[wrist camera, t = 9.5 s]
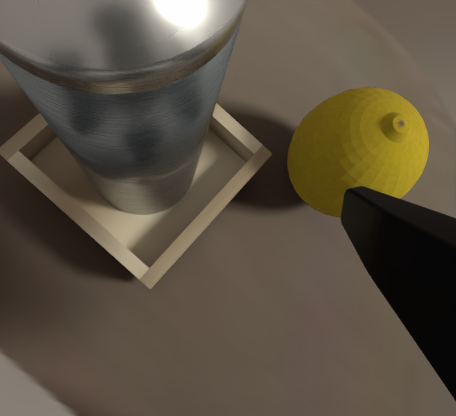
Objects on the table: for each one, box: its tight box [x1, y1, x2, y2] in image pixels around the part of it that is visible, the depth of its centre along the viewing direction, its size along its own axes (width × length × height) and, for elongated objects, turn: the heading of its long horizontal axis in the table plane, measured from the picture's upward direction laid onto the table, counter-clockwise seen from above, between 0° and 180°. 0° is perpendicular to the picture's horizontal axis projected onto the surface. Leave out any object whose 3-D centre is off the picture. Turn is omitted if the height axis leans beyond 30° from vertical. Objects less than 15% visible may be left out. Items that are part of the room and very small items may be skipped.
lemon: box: [287, 87, 429, 217], centre depth 18 cm, size 6×6×8 cm
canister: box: [0, 0, 247, 215], centre depth 12 cm, size 5×5×13 cm
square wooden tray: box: [0, 103, 272, 289], centre depth 19 cm, size 8×8×4 cm
